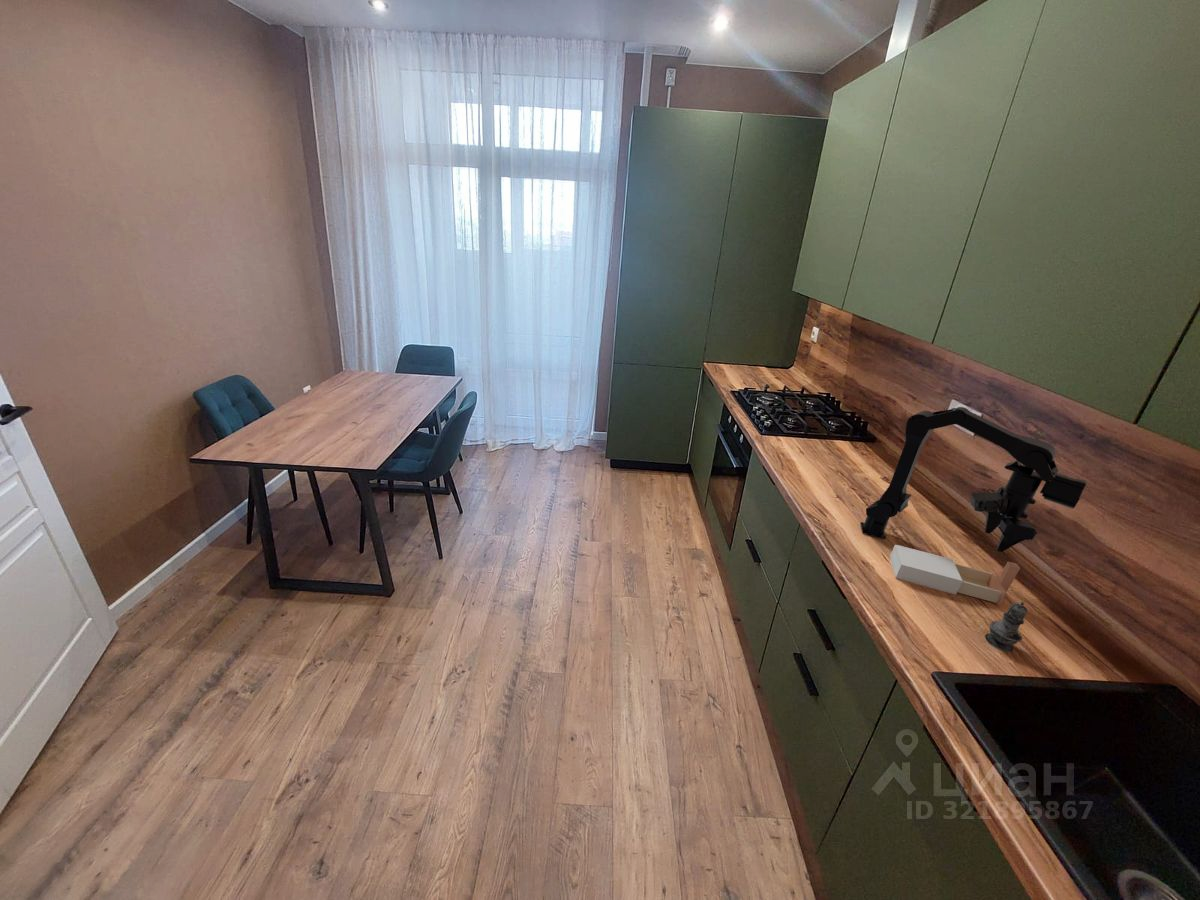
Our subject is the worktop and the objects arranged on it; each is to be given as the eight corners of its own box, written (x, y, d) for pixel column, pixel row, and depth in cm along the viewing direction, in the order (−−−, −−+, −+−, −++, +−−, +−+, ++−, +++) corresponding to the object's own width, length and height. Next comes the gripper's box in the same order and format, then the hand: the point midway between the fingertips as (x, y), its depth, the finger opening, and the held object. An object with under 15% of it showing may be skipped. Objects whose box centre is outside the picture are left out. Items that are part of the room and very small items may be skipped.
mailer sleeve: (889, 557, 136) (895, 544, 134) (945, 572, 132) (952, 559, 130) (895, 578, 127) (901, 564, 125) (955, 594, 123) (962, 581, 121)
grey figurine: (984, 628, 113) (1006, 589, 108) (1015, 642, 109) (1039, 602, 104) (982, 642, 108) (1006, 602, 103) (1015, 657, 105) (1040, 616, 100)
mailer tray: (928, 566, 133) (941, 537, 129) (995, 584, 128) (1011, 555, 124) (937, 588, 124) (951, 558, 120) (1009, 608, 120) (1026, 577, 116)
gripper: (971, 467, 129) (948, 516, 136) (994, 498, 113) (968, 552, 120) (1020, 477, 126) (994, 527, 133) (1051, 511, 110) (1020, 565, 117)
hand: (992, 541), depth 125 cm, fingers open, 9 cm apart
